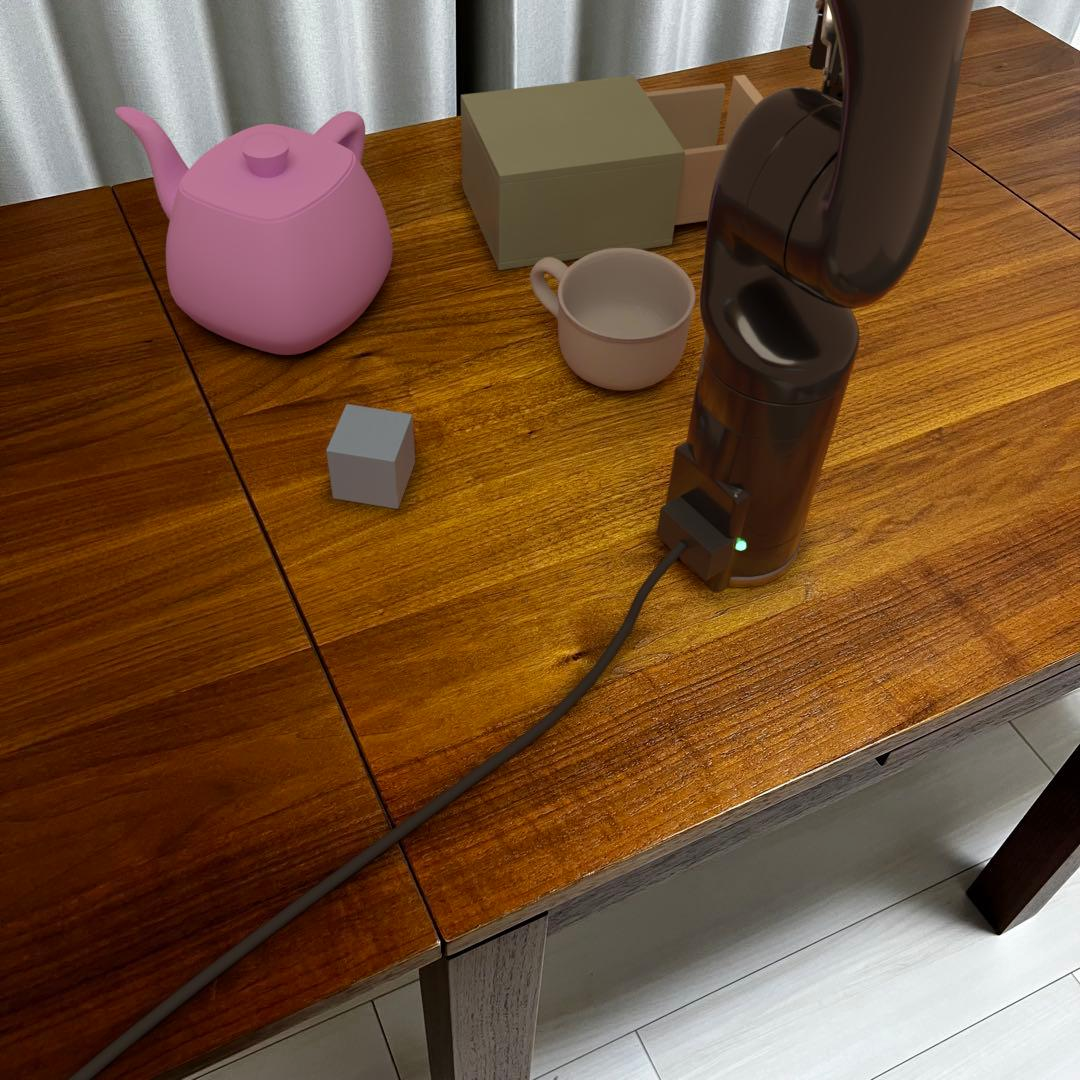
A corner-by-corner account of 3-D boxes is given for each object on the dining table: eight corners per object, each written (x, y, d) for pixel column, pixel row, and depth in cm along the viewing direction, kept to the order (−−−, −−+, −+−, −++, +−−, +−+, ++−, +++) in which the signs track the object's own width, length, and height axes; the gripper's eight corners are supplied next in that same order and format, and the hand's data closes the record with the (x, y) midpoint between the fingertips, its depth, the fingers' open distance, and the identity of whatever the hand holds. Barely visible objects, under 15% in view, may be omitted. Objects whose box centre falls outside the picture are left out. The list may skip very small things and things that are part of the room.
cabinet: (624, 166, 119) (633, 74, 111) (672, 245, 110) (685, 151, 103) (462, 187, 115) (460, 94, 108) (498, 270, 107) (499, 175, 99)
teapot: (444, 255, 108) (440, 99, 97) (311, 391, 95) (288, 231, 84) (238, 183, 114) (211, 30, 103) (88, 303, 102) (38, 142, 90)
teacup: (709, 366, 99) (724, 288, 93) (625, 430, 94) (634, 351, 88) (584, 292, 105) (590, 214, 99) (498, 348, 100) (499, 269, 94)
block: (398, 509, 87) (394, 461, 84) (332, 498, 88) (325, 450, 84) (415, 462, 91) (412, 413, 87) (352, 451, 91) (346, 403, 87)
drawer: (771, 142, 121) (786, 69, 115) (824, 211, 113) (842, 136, 107) (585, 167, 117) (591, 92, 111) (626, 239, 109) (635, 163, 103)
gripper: (813, -194, 78) (770, 45, 90) (825, -105, 69) (776, 148, 81) (929, -187, 77) (870, 52, 90) (957, -96, 68) (888, 156, 81)
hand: (826, 97), depth 85 cm, fingers open, 8 cm apart
